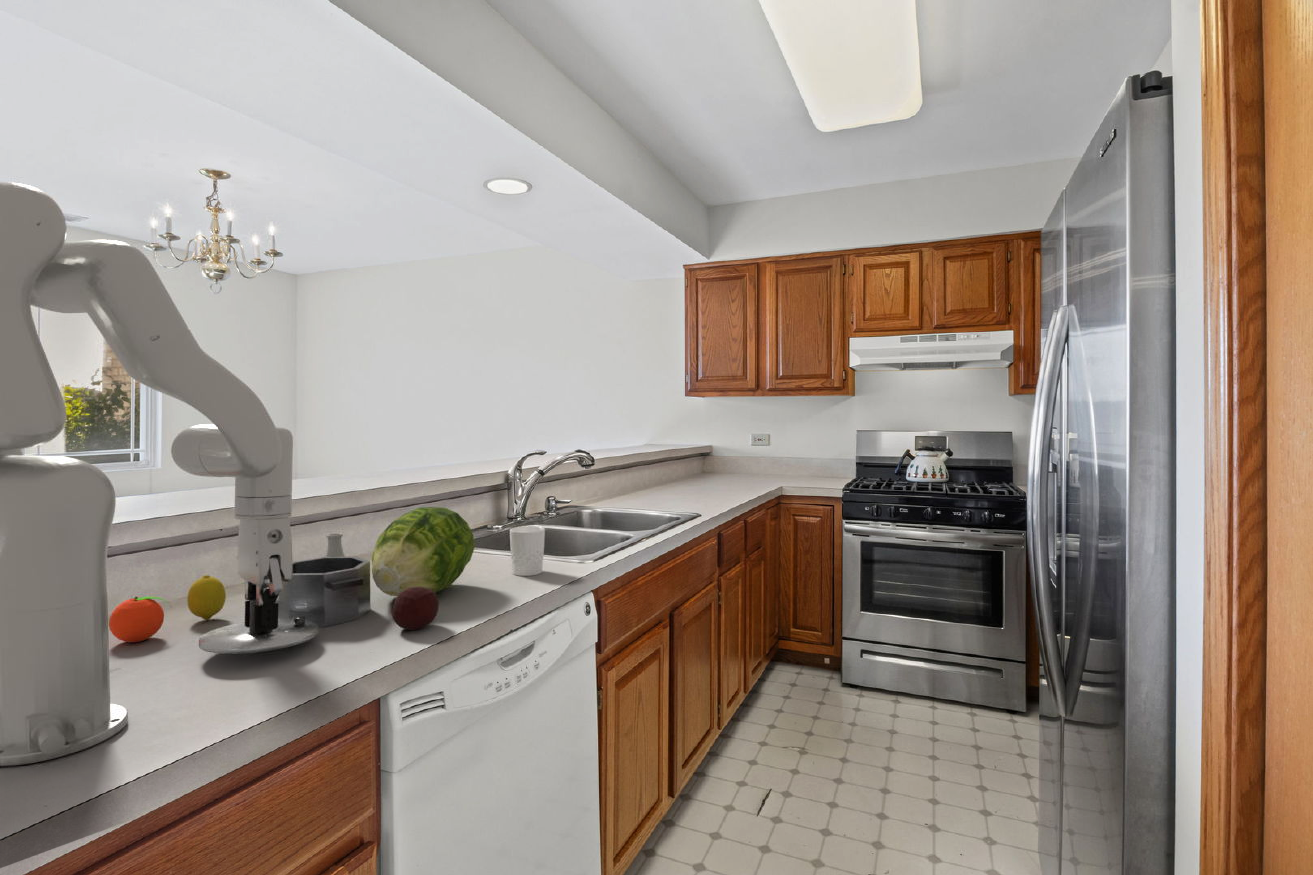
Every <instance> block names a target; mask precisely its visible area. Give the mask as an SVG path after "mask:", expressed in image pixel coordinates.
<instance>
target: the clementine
mask: <svg viewBox="0 0 1313 875" xmlns="http://www.w3.org/2000/svg"><path fill="white" fill-rule="evenodd" d="M154 599H155V600H154ZM156 599H157V600H160V601H164V602H165V603H167V604H169V606H170V608H171V609H172V608H173V607H172V606H171V604H170V603H169V602H168V601H167V600H165V599H163V598H161V597H156V596H142V597H139V596H135V597H133V598H130V599H126V600H124V601H123V602H121V603H120V604H118V605H117V606H116V607H115V609H114V610H113V611H112V612H111V615H110V617H109V619H108V628H109V630H110V632H111V634H112V635H113V637H115V638H116V639H117V640H119V641H122V642H125V643H139V642H143V641H145V640H148V639H150V638H152V637H153V636H154V635H155V634H157V632H159V630H160V629H161V627H162V625H163V624H164V618H165V613H164V609H163V606H162V605H161V604H160V603H158V602H157V601H156Z"/></svg>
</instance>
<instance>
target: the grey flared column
mask: <svg viewBox="0 0 1313 875" xmlns="http://www.w3.org/2000/svg"><path fill="white" fill-rule="evenodd" d="M342 537H343V533H342V532H334V533H328V534H326V539H327V546H326V547H327V548H326V552H325V555H324V557H346V555H345V553H344V549H343V546H342V545H343V544H342Z"/></svg>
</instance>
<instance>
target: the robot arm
mask: <svg viewBox="0 0 1313 875" xmlns="http://www.w3.org/2000/svg"><path fill="white" fill-rule="evenodd" d="M67 231H68V230H67V223H66V218H65V215H64V213H63V211H62V209H61V208H60V205H59V204H58V203H57V201H55V200H54V199H53V198H52V197H51V196H50V195H49V194H47V193H46V192H44V191H42V190H40V189H39V188H36V187H34V186H31V185H28V184H22V183H17V182H9V181H8V182H7V181H5V182H4V181H1V182H0V541H3V543H2V547H1V551H0V767H8V766H9V767H10V766H21V765H22V766H23V765H29V764H34V763H38V762H45V761H49V760H53V759H56V758H61V757H64V756H67V755H71V754H74V753H77V752H80V751H82V750H86V749H88V748H91V747H93V746H95V745H98V744H100V743H102V742H105V741H106V740H108V739H109V738H111V737H113V736H114V735H115V734H117V733H119V732H120V731H121V730H123V728H125V727H126V725H127V724H128V721H129V720H128V719H129V718H128V717H129V713H128V709H127V708H125V707H124V706H122V705H119V704H116V703H111V682H110V678H111V676H110V675H111V674H110V648H109V647H110V645H109V644H110V641H109V638H110V637H109V636H110V635H109V614H108V613H109V608H108V605H109V604H108V601H109V599H108V575H107V574H108V573H107V572H108V569H107V568H108V567H107V566H108V564H107V563H108V551H109V550H108V548H109V540H110V535H111V530H112V526H113V521H114V518H115V513H116V512H115V511H116V492H115V488H114V485H113V483H112V482H111V480H110V479H109V477H108V476H107V474H106V473H105V472H104V471H102V470H101V469H100V468H98V467H97V466H96V465H93V464H92V463H89V462H87V461H85V460H81V459H77V458H74V457H69V456H68V457H67V456H61V455H29V454H28V455H26V454H25V455H24V454H23V452H22V450H24V449H32V448H36V447H38V446H43V445H45V444H47V443H49V442H51V441H52V440H54V439H55V438H56V437H58V436H59V435H60V434H61V432H63V429H64V428H65V424H66V421H67V410H66V403H65V401H64V398H63V395H62V392H61V390H60V387H59V385H58V382H57V380H56V378H55V374H54V372H53V369H52V367H51V365H50V362H49V360H48V356H47V355H46V352H45V349H44V347H43V345H42V342H41V340H40V337H39V334H38V331H37V327H36V325H35V322H34V321H35V320H34V318H33V312H32V307H35V308H40V309H43V310H45V311H46V310H47V311H50V312H56V313H60V314H88V317H89V318H90V319H91V321H92V322H93V323H94V325H95V327H96V329H97V330H98V331H99V332H100V334H101V335H102V337H103V339H104V340H105V342H106V343H107V345H108V346H109V348H110V349H111V351H112V352H113V354H114V356H115V357H116V358H117V359H118V361H119V363H120V365H121V366H122V367H123V370H125V372H126V373H127V375H129V377H130V378H132V379H133V380H135V381H137V382H139V383H140V384H142V385H144V386H146V387H148V388H150V389H152V390H154V391H156V392H159V393H162V394H164V395H167V396H169V397H171V398H174V399H177V400H179V401H180V402H183V403H185V404H187V405H188V406H191V408H193V409H195V410H197V411H198V412H200V414H202V415H203V416H205V417H206V418H207V420H209V421H210V422H211V423H205V424H204V423H203V424H197V425H192V426H190V427H187V428H184V429H183V430H182V431H181V432H179V433H178V434H177V435H176V436H175V437H174V439H173V442H172V444H171V448H170V453H171V454H170V455H171V457H172V460H173V462H174V464H175V465H176V466H177V467H178V468H179V469H181V470H183V471H184V472H185V473H188V474H190V475H194V476H200V477H209V478H210V477H211V478H234V480H235V482H234V510H233V511H234V515H233V516H234V517H233V519H236V520H239V528H238V538H237V553H236V555H237V556H236V562H237V563H236V565H237V566H236V568H237V575H238V576H239V578H241V579H243V581H244V599H245V600H244V622H245V626H246V627H250V600H251V599H255V598H256V600H257V605H254V624H253V630H254V632H262V631H268V630H273V629H276V628H277V627H278V603H279V593H280V592H281V591H282V589H283V586H282V581H284V582H289V581H290V580H291V579H292V577H293V563H292V562H293V541H292V529H291V523H290V517H292V512H293V511H292V509H293V508H292V503H293V502H292V501H293V500H292V498H293V451H294V450H293V448H294V441H293V440H294V436H293V434H292V432H291V430H289V429H288V428H285V427H278V426H277V427H276V425H275V423H274V421H273V419H272V418H271V415H270V414H269V412H268V410H267V409H266V407H265V405H264V403H263V402H262V400H261V399H260V397H259V396H257V394H256V393H255V392H254V391H253V389H252V388H250V387H249V386H248V385H247V384H246V383H245V382H244V381H242V380H241V379H240V378H239V377H237V376H236V375H235V374H234V373H232V371H230V370H229V369H227V368H226V366H224V365H223V364H222V363H220V362H218V361H217V360H216V359H214V358H213V357H211V356H210V355H209V354H207V353H206V352H205V351H204V349H202V348H201V346H200V345H199V343H198V342H197V340H196V338H195V337H194V335H193V333H192V331H191V329H190V328H189V326H188V325H187V323H186V321H185V320H184V318H183V316H182V314H181V312H180V311H179V308H177V306H176V304H175V303H174V300H173V299H172V297H171V295H170V293H169V292H168V290H167V288H166V287H165V284H164V283H163V281H162V280H161V277H160V276H159V274H158V272H157V271H156V270H155V268H154V266H153V264H152V263H151V261H150V260H149V259H148V258H147V255H145V254H144V253H143V251H141V250H140V249H139V248H137V247H135V246H133V245H132V244H128V243H126V242H123V241H118V240H111V239H108V240H107V239H92V240H79V241H77V240H76V241H74V240H73V241H66V240H67V239H66V238H67V233H68V232H67ZM31 306H32V307H31ZM268 580H269V582H268Z"/></svg>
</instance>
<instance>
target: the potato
mask: <svg viewBox="0 0 1313 875" xmlns="http://www.w3.org/2000/svg"><path fill="white" fill-rule="evenodd" d="M439 605H440V602H439V598H438V595H437V594H436V593H434V591H432V590H431V589H428V588H424V587H412V588H408V589H406V590H404V591H403V592H401V593H400V594H399V595H398V596H395V598H394V603H393V605H392V608H391V609H392V610H391V615H392V620H393V621H394V623H395V624H396V625H397V626H398V627H400V628H401V629H404V630H410V631H415V630H418V629H421V628H424V627H427V626H428V625H429V624H431V623H432V622H434V620H435V618H436V617H437V614H438V612H439Z"/></svg>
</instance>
